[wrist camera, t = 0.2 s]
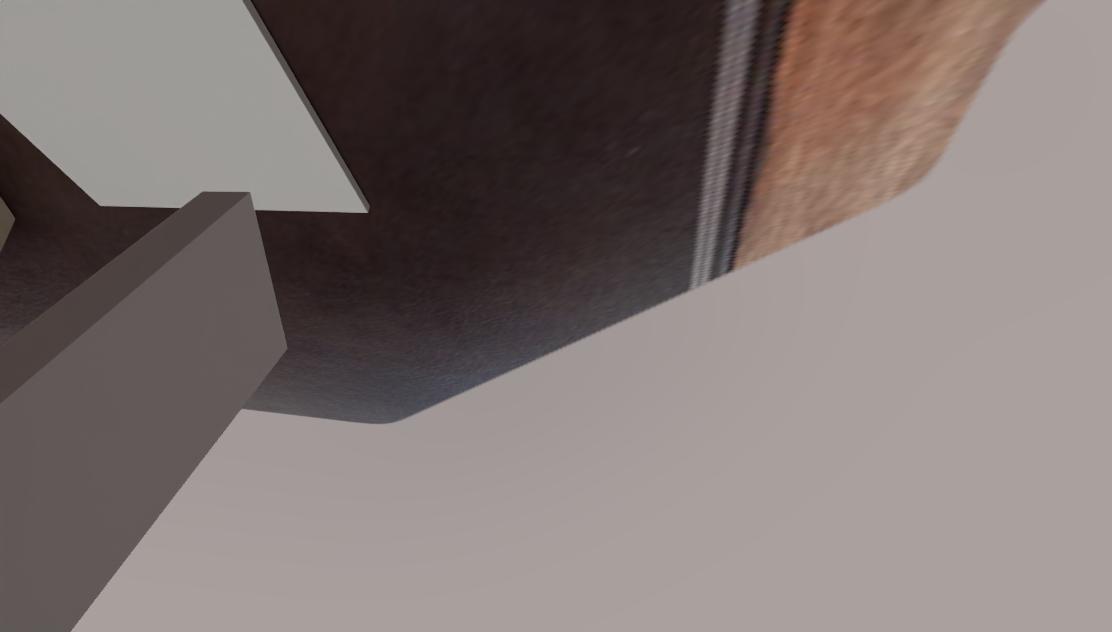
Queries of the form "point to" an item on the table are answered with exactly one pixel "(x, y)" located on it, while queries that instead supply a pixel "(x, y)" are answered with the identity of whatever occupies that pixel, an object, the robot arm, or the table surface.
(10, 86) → the grey mat
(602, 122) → the table surface
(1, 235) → the streaked tan block
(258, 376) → the robot arm
